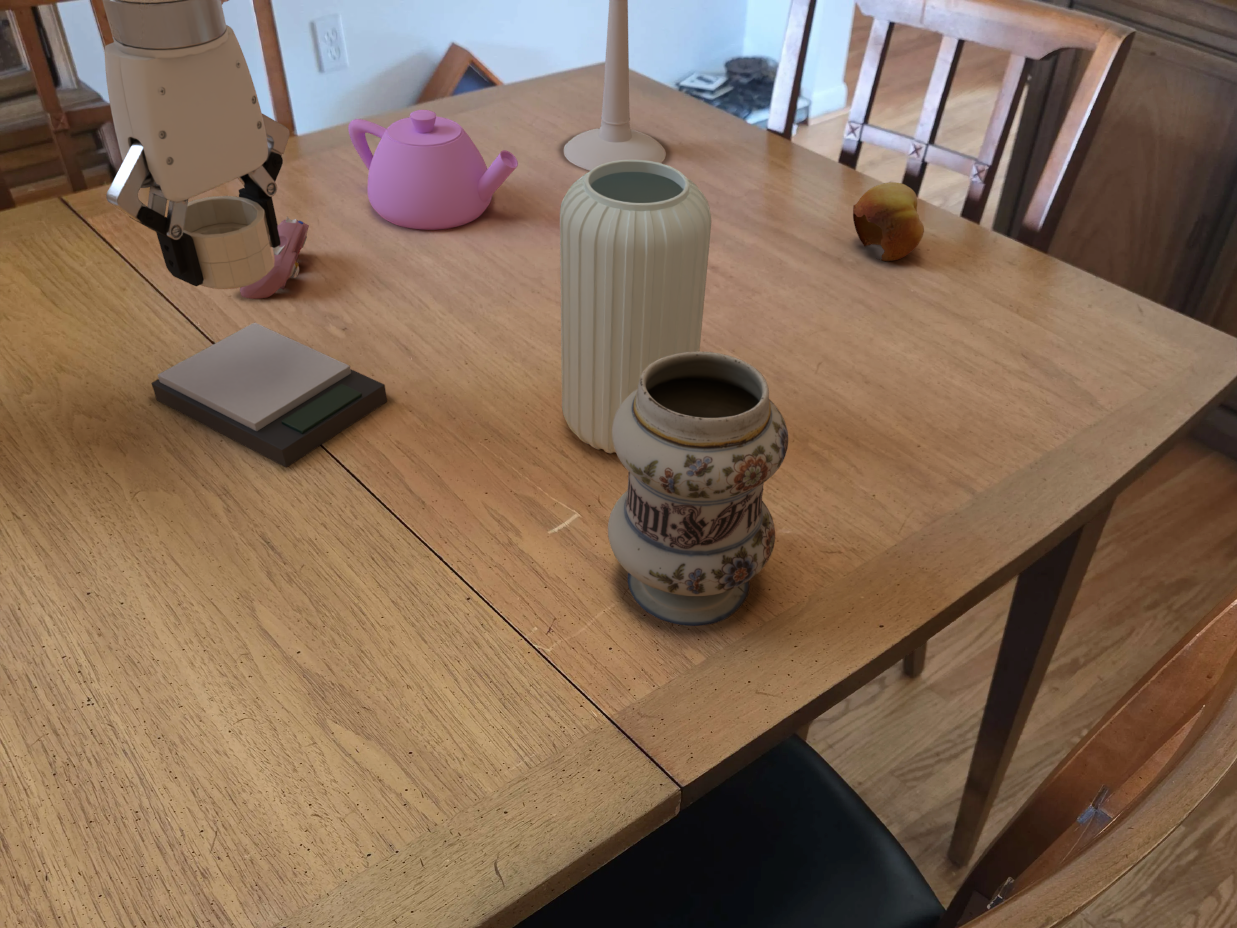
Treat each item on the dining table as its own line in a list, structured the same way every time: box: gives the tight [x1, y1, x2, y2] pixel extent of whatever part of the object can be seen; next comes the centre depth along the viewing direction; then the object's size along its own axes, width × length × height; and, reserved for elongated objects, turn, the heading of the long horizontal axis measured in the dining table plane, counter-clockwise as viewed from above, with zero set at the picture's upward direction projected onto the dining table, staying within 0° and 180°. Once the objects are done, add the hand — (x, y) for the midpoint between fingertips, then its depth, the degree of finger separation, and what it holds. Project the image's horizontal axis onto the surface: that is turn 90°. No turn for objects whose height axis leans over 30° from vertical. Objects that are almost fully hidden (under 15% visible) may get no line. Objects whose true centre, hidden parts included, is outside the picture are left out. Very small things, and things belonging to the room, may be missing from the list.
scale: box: [151, 322, 388, 468], centre depth 96 cm, size 16×12×3 cm
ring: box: [183, 195, 275, 290], centre depth 87 cm, size 7×7×5 cm
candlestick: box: [563, 0, 667, 172], centre depth 126 cm, size 13×13×30 cm
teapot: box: [347, 109, 519, 231], centre depth 121 cm, size 14×20×11 cm
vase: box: [559, 160, 712, 454], centre depth 89 cm, size 12×12×22 cm
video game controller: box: [239, 216, 310, 300], centre depth 111 cm, size 10×5×7 cm, turn 0°
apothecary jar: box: [607, 351, 789, 627], centre depth 77 cm, size 12×12×18 cm
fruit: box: [852, 181, 925, 262], centre depth 119 cm, size 8×8×8 cm
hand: (227, 259), depth 88 cm, fingers closed on ring, 7 cm apart
